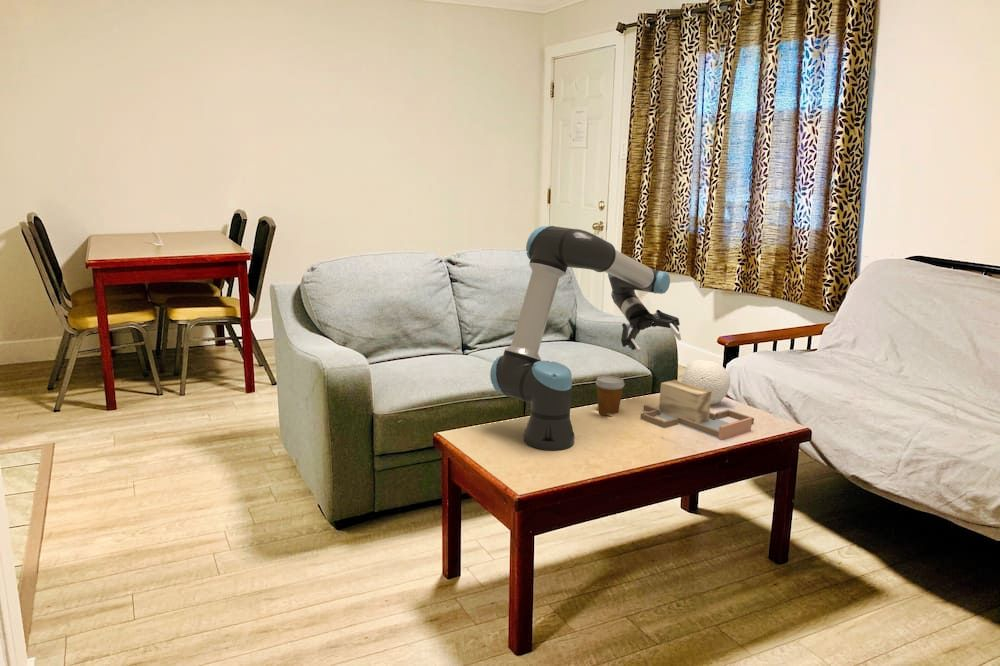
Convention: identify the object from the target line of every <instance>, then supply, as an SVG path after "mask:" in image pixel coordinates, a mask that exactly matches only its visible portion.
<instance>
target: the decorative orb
mask: <svg viewBox="0 0 1000 666" xmlns="http://www.w3.org/2000/svg"><path fill="white" fill-rule="evenodd" d="M681 382H684V383H687V384H690V385H693V386H696V387H699V388H703V389H706V390H709V391H712V393H711V403H710V406H712V405H716V404H718V403H720V401H723V399H724V398H725V397H726V396H727V394H728V392H729V390H730V386H731V378H730V374H729V373H728V371H727V369H726V368H725V367H724V366H722V364H720V363H718V362H715V361H713V360H706V359H694V360H693V359H692V361H690V362H688V364H687V365H686V367H685V370H684V372H683V375H682V378H681Z"/></svg>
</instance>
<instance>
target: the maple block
mask: <svg viewBox="0 0 1000 666" xmlns="http://www.w3.org/2000/svg"><path fill="white" fill-rule="evenodd" d="M711 393H712V391H709V390H706V389H703V388H699V387H696V386H693V385H690V384H687V383H684V382H682V381H681V380H677V379H673V380H668V381H664V382H661V383H660V391H659V404H658V406H659V409H660V410H661V413H663V414H666V415H669V416H672V417H674V418H678V417H682V418H685V419H688V420H691V421H693V422H696V423H699V424H700V423H703V422H707V421H709V413H710V411H711V405H710V403H711Z"/></svg>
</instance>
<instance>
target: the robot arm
mask: <svg viewBox="0 0 1000 666" xmlns="http://www.w3.org/2000/svg"><path fill="white" fill-rule="evenodd" d="M525 251H526V256H527V258H528V259H529V263H528V266H529V267H530V269H531V275H530V278H529V281H528V285H527V289H526V292H525V294H524V295H525V296H524V299H523V301H522V306H521V310H520V313H519V317H518V321H517V324H516V327H515V330H514V334H513V338H512V341H511V344H510V346H508V347H506V348H505V349H504V350H503V355H499V356H498V357H497V358H496V360H494V361H493V362H492V365H491V368H490V374H489V375H490V376H489V377H490V381H491V384H492V387H493V388H494V390H495V391H496V392H497V393H499V394H502V395H504V396H505V397H508V398H514V399H517V400H519V401H523V402H526V403H530V416H529V419H528V422H527V425H526V428H524V432H523V442H524V443H525V444H526V445H528V446H529V447H532V448H534V449H538V450H545V451H558V450H565V449H568V448H571V447H572V446H574V445H575V439H576V437H575V436H576V435H575V432H574V429H573V425H572V424H573V423H572V420H571V403H572V401H571V400H572V386H573V380H572V378H573V377H572V372H571V369H570V368H569V367H568V366H566V365H565V364H562V363H560V362H557V361H553V360H552V361H550V360H542V358H541V357H540V356H541V355H539V351H540V348H541V347H540V346H541V345H542V341H543V340H542V339H543V336H544V333H545V330H546V325H547V323H548V319H549V316H550V312H551V309H552V305H553V302H554V297H555V294H556V291H557V287H558V283H559V279H561V278H562V277H564V276H566V273H567V270H568V268H571V269H572V268H573V269H584V270H591V271H595V272H596V273H607V278H608V280H609V283H610V287H611V294H610V295H611V299H612V301H613V303H614V304H615V306H616V307H618V309H619V310H620V312H621V313H622V315H623V316H624V317H625V318H626V321H627V322H628V323H627V324H626V323H624V322H623V323H622V324H621V327H622V334H621V339H620V341H621V345H622V347H623V348H625V347H627V346H628V348H630V350H632V351H634V350H635V351H636V353H637V354H638V356H639V357H641V356H643V353H642V350H641V347H640V346H639V345H638V343H637V342H636V340H635V339H636V338H637V335H638V334H639V333H640V331H643V330H646V329H649V328H651V327H652V328H656V327H660V328H666V329H670V331H671V333H672V334H673V335H674V336H675V338H676V339H677V341H681V340H682V337H681V333H680V328H679V326H680V325H681V323H680V318H678V317H676V316H673V315H671V314H667V313H665V312H663V311H661V310H659V309H657V310H656V311H655V313H650V311H649V310H648V309H647V307H646V306H645V305H644V304H643V302H642V301H641V300H640V298H639V297H638V296H637V294H636V292H635V291H641V292H646V293H653V294H656V295H657V294H659V295H660V294H661V295H663V294H666V292H668V290H669V288H670V285H671V277H670V275H669V273H668V272H666V271H663V270H656V269H653V268H652V267H649V266H647V265H645V264H643V263H641V262H639V261H637V260H636V259H634V258H632V257H631V256H630V257H629V256H628V255H626V254H624V253H623V252H621V251H620V250H619V251H618V250H617V249H616V248H615V246H614V245H613V244H612V243H611V242H609V241H607V240H605V239H604V238H601V237H600V236H597V235H596V234H593V233H591V232H589V231H587V230H584V229H578V228H570V227H562V226H554V225H548V226H547V225H542V226H539V227H537V228H535V229H534V230H533V231H532V232H531V233H530V235H529V237H528V238H527V242H526V245H525ZM630 328H631V331H630ZM629 331H630V333H629Z"/></svg>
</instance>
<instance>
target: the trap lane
mask: <svg viewBox="0 0 1000 666" xmlns="http://www.w3.org/2000/svg"><path fill="white" fill-rule="evenodd" d="M641 412H642V413H640V417H639V418H640V420H642V421H643V422H644V421H645V422H647V423H650V424H653V425H655V426H658V427H661V428H664V429H667V428H669V427H673V426H676V425H679V426H682V427H684V428H686V429H687V428H688V429H690V430H692V431H695V432H697V433H701V434H703V435H706V436H709V437H711V438H715V439H716V440H720V441H723V440H726V439H730V438H732V437H735V436H737V435H741V434H744V433H748V432H751V430H752V425H753V424H754V423H755V422H754V421H755V418H754V417H752V416H748V415H746V414H743V413H740V412H737V411H735V410H734V411H733V410H730V409H725V410H722V411H718V412H716V413H714V412H710V413H709V421H707V422H703V423H700V424H699V423H696V422H693V421H691V420H688V419H685V418H682V417H678V418H674V417H672V416H669V415H666V414H663V413H661V410H660V409H659V405H657V406H651V405H649V404H644V405H643V409H642V410H641ZM726 417H729V418H732V419H735V420H736V421H733V422H727V421H725V420H721V419H723V418H726ZM660 418H661V419H660Z"/></svg>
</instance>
